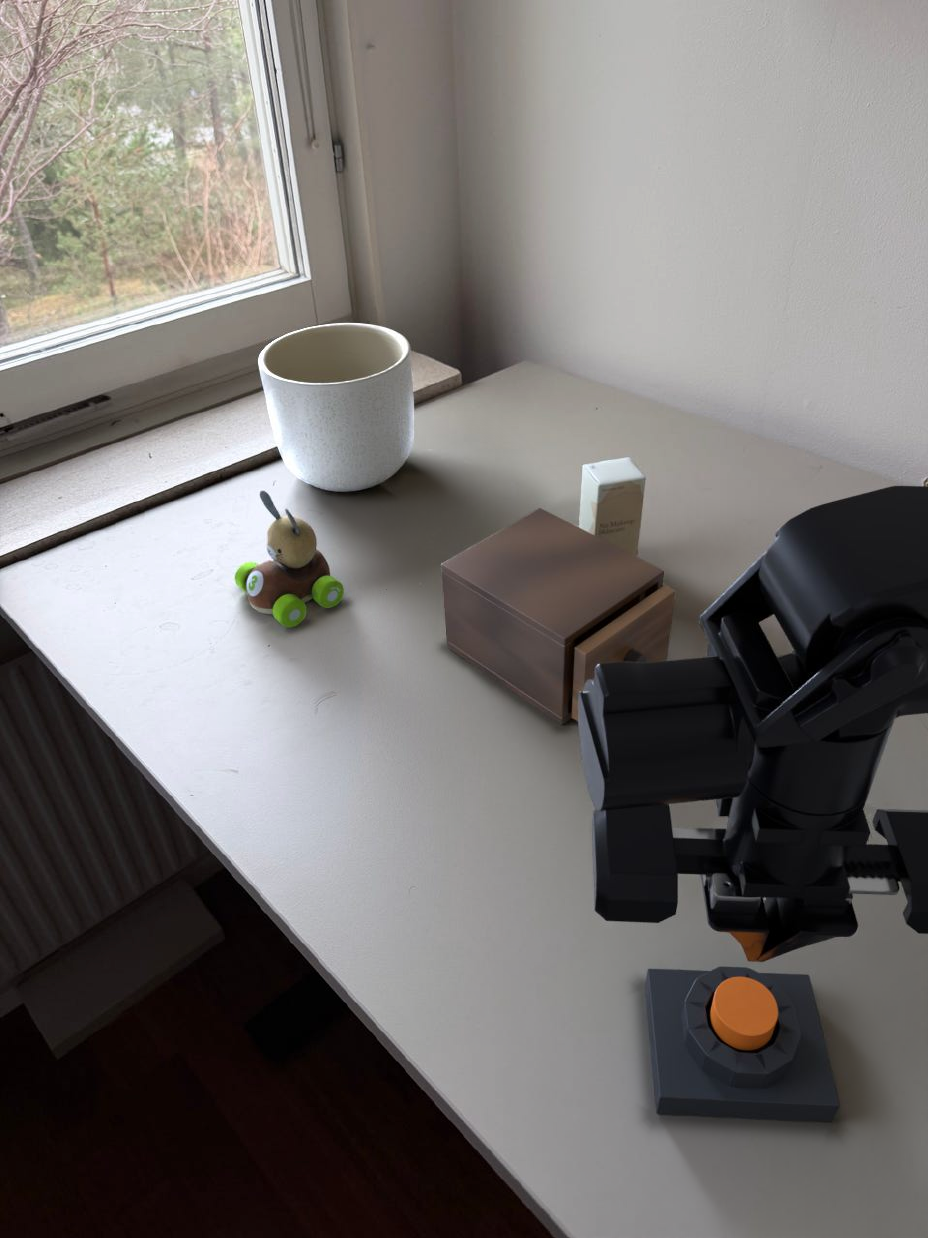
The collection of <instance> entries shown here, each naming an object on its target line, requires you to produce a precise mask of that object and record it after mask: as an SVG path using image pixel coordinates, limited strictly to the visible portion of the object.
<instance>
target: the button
mask: <svg viewBox="0 0 928 1238" xmlns="http://www.w3.org/2000/svg"><path fill="white" fill-rule="evenodd" d="M710 1019H711V1023H712V1026H713V1028H714V1030H715V1032H716V1033H717V1035H718V1036H719V1037H720V1038H721V1039H722V1040H723V1041H724V1042H725V1043H727V1044H728V1045H730V1046H732V1047H734V1048H737V1049H740V1050H747V1051H748V1050H756V1049H759V1048H761V1047H763V1046H764V1045H766V1044H767V1043H768V1042H769V1040H770V1039H771V1037H772V1034H773V1031H774V1028H775V1025H776V1022H777V1019H778V1006H777V1003H776V1000H775V998H774V996H773V995H772V993H771V992H770V991H769V990H768V989H767V988H766V987H765V986H764V985H762V984H761V983H759V982H758V981H756V980H753V979H751V978H747V977H733V978H729V979H727V980H725V981H723V982H722V983H721V984H720V985H719V986H718V988H717V989H716V991H715V994H714V999H713V1003H712V1007H711V1011H710Z"/></svg>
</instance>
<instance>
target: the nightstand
mask: <svg viewBox="0 0 928 1238" xmlns="http://www.w3.org/2000/svg"><path fill="white" fill-rule="evenodd" d="M440 569H441V570H440V571H441V584H442V587H441V588H442V598H443V600H442V601H443V613H444V614H443V615H444V628H445V640H446V642H445V643H446V647H447V648H448V649H449V650H451V651H452V652H453V653H455V654H457V655H458V656H459V657H461V658H462V659H463V660H465V661H467V662H468V663H470V664H471V665H472V666H474V667H476V668H477V669H479V670H480V671H482V672H483V673H484V674H486V675H487V676H489V677H490V678H492V679H493V680H494V681H496V682H497V683H499V684H501V686H504V687H505V688H506V689H508V690H509V691H511V692H512V693H514V694H515V695H517V696H518V697H520V698H521V699H522V700H524V701H526V702H527V704H530V705H531V706H533V707H534V708H535V709H537V710H539V711H540V712H542V713H543V714H545V715H546V716H548V717H549V718H550V719H552V720H553V721H555V722H556V723H558V724H559V725H561V726H563V725H565V724H566V723H567V722H568V721H569V720H571V719H573V718H572V699H573V698H571V699H570V700H569V678H570V653H571V642H572V641H573V640H575V639H576V638H578V637H579V636H580V635H582V634H583V633H585V632H586V631H588V630H589V629H591V628H592V627H594V626H595V625H596V624H598V623H599V622H601V621H602V620H604V619H605V618H607V617H608V616H609V615H611V614H612V613H614V612H615V611H617V610H618V609H620V608H621V607H623V606H624V605H625V604H627V603H628V602H630V601H631V600H633V599H634V598H636V597H637V596H638V595H640V594H641V593H643V592H644V591H646V594H645V598H647V597H648V596H649V595H651V594H652V593H654V592H655V591H657V590H658V589H659V588H661V587H662V586H664V582H665V581H664V579H665V569H663V568H660V567H658V566H656V565H654V564H652V563H650V562H648V561H646V560H644V559H642V558H641V557H638V556H637V557H636V556H634V555H632V554H630V553H628V552H626V551H624V550H622V549H620V548H618V547H616V546H615V545H613V544H611V543H609V542H607V541H605V540H603V539H601V538H599V537H597V536H595V535H593V534H591V533H589V532H587V531H585V530H583V529H581V528H579V526H577V525H575V524H573V523H571V522H569V521H567V520H565V519H563V518H561V517H559V516H557V515H555V514H553V513H552V512H550V511H547V510H545V509H543V508H542V507H539V508H536V509H535V510H533V511H532V512H529V514H527V515H524V516H523V517H521V518H519V519H517V520H516V521H514V522H512V523H511V524H509V525H507V526H505V527H503V528H501V529H500V530H498V531H497V532H495V533H493V534H491V535H489V536H488V537H486V538H484V539H483V540H481V541H479V542H477V543H475V544H474V545H472V546H470V547H468V548H466V549H465V550H463V551H461V552H459V553H458V554H456V555H455V556H452V557H450V558H449V559H447V560H446V561H444V562H442V563H441V564H440Z"/></svg>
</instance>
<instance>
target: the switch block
mask: <svg viewBox="0 0 928 1238" xmlns="http://www.w3.org/2000/svg"><path fill="white" fill-rule="evenodd" d="M733 977H747V978H751V979H753V980H756V981H758V982H759V983H761V984H762V985H764V986H765V987H766V988H767V989H768V990H769V991H770V992H771V993H772V995H773V996H774V998H775V1000H776V1003H777V1006H778V1019H777V1022H776V1025H775V1028H774V1031H773V1034H772V1037H771V1039H770V1040H769V1042H768V1043H767V1044H766V1045H764V1046H763V1047H761V1048H759V1049H756V1050H748V1051H747V1050H740V1049H737V1048H734V1047H732V1046H730V1045H728V1044H727V1043H725V1042H724V1041H723V1040H722V1039H721V1038H720V1037H719V1036H718V1035H717V1033H716V1032H715V1030H714V1028H713V1026H712V1023H711V1019H710V1011H711V1007H712V1003H713V999H714V994H715V991H716V989H717V988H718V986H719V985H720V984H721V983H722V982H723V981H725V980H727V979H729V978H733ZM811 981H812V980H811V977H810V975H809V974H808V973H807V974H806V973H805V974H804V973H777V972H758V971H756V970H754V969H752V968H750V967H747V966H745V967H744V966H720V965H719V966H717V967H715V968H713V969H712V970H702V969H701V970H700V969H697V970H695V969H675V968H673V969H671V968H647V971H646V976H645V984H644V991H645V992H644V993H645V1001H646V1002H645V1004H646V1015H647V1025H648V1035H649V1036H648V1037H649V1048H650V1049H649V1050H650V1057H651V1058H650V1059H651V1060H650V1061H651V1070H652V1071H651V1072H652V1079H653V1080H652V1081H653V1091H654V1103H655V1113H656V1114H657V1115H665V1116H666V1115H667V1116H668V1115H670V1116H688V1117H708V1118H709V1117H710V1118H726V1119H727V1118H728V1119H747V1120H749V1119H750V1120H769V1121H787V1122H788V1121H790V1122H807V1123H810V1122H811V1123H826V1124H827V1123H828V1124H829V1123H830V1124H832V1123H833V1122H834V1120H835V1118H836V1115H837V1114H838V1112H839V1110H840V1107H841V1103H840V1099H839V1095H838V1090H837V1087H836V1081H835V1079H834V1074H833V1070H832V1065H831V1061H830V1057H829V1052H828V1049H827V1044H826V1040H825V1037H824V1032H823V1028H822V1023H821V1020H820V1014H819V1011H818V1006H817V1002H816V999H815V998H816V997H815V994H814V989H813V985H812V982H811Z"/></svg>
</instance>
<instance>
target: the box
mask: <svg viewBox="0 0 928 1238" xmlns="http://www.w3.org/2000/svg"><path fill="white" fill-rule="evenodd" d="M637 465H638V464H636V463H635V462H634V461H633V459H632V458H631V457H628V456H627V457H621V458H615V459H606V460H602V461H597V462H591V463H586V464H585V463H584V464H583V465H582V470H581V472H582V473H581V475H582V476H581V485H580V486H581V488H580V502H579V503H580V504H579V519H578V527H579V528H581V529H583V530H585V531H587V532H589V533H591V534H593V535H595V536H597V537H599V538H601V539H603V540H605V541H607V542H609V543H611V544H613V545H615V546H616V547H618V548H620V549H622V550H624V551H626V552H628V553H630V554H632V555H634V556H636V557H638V551H639V541H640V534H641V525H642V516H643V507H644V506H643V505H644V498H645V489H646V478H647V477H646V476H645V474H644V473H643V471H642V470H641V469H640V468H639V466H637Z"/></svg>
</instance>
